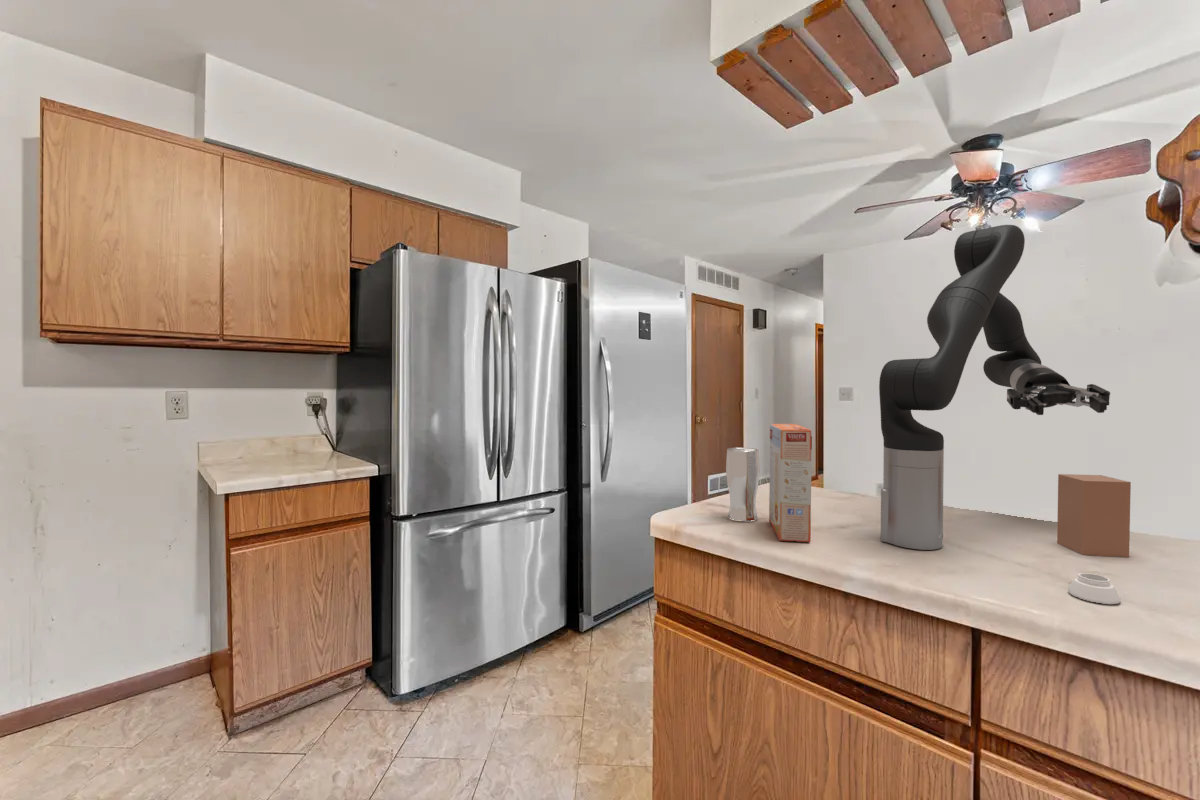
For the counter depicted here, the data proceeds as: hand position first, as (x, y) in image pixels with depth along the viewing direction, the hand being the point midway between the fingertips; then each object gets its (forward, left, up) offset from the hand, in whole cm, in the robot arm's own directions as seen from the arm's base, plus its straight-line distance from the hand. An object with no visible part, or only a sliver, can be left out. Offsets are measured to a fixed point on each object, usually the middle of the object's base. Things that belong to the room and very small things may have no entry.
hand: (1071, 408), depth 91 cm
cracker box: (-43, -25, -24) cm, 55 cm away
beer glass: (-54, -21, -24) cm, 62 cm away
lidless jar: (-1, -32, -24) cm, 40 cm away
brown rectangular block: (+2, -6, -24) cm, 25 cm away
